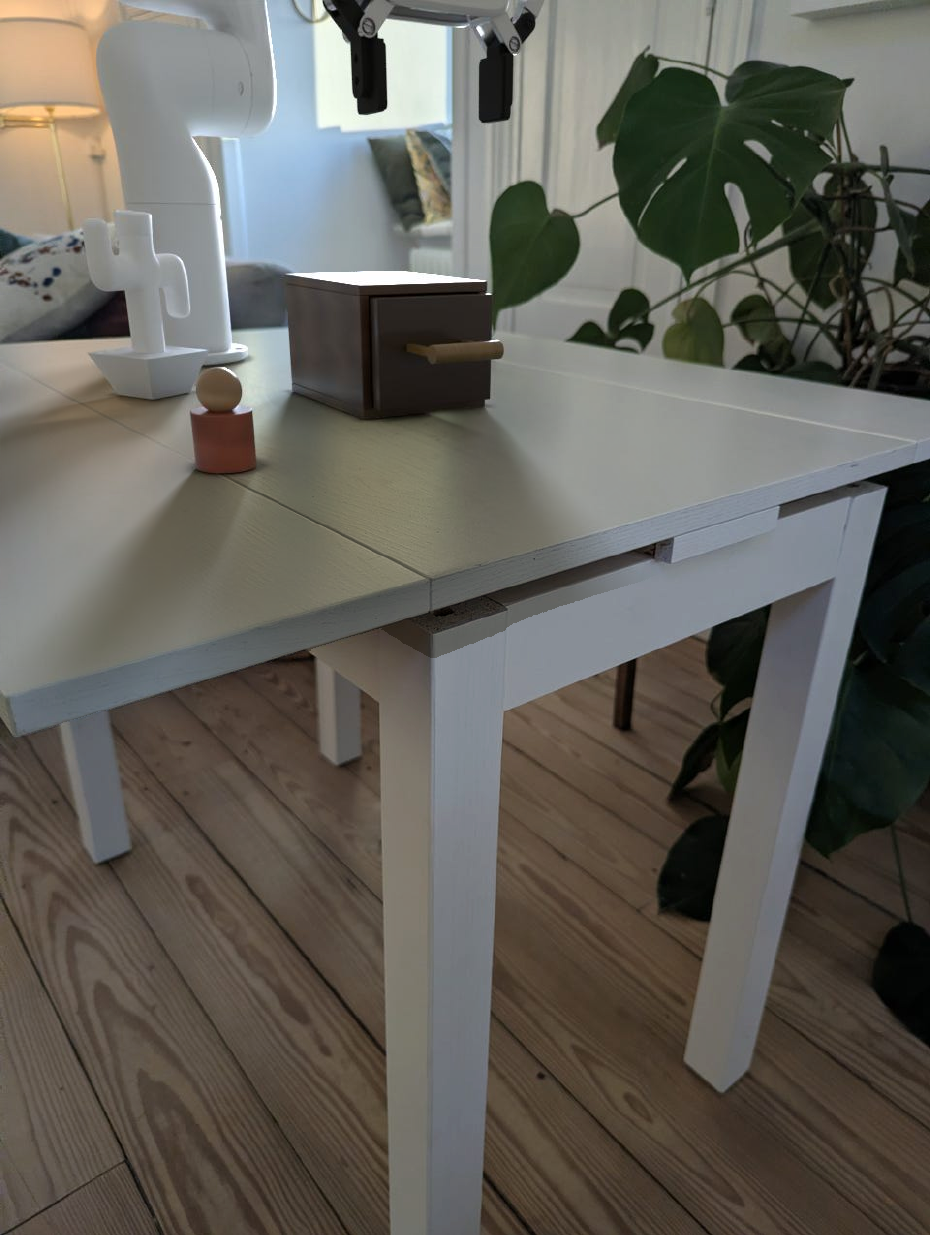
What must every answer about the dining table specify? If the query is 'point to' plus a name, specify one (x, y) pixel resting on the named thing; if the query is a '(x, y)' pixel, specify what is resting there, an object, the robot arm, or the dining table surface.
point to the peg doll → (222, 425)
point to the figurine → (141, 308)
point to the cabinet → (351, 334)
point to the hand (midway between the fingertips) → (435, 117)
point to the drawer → (431, 349)
